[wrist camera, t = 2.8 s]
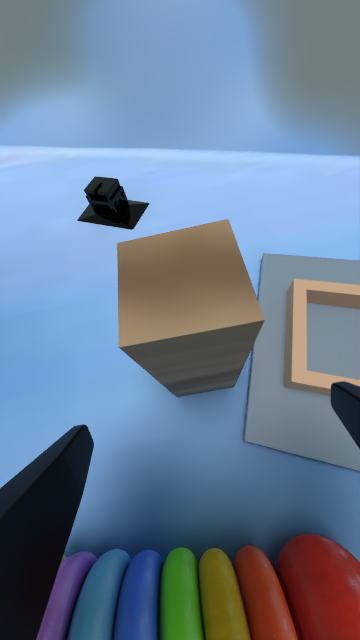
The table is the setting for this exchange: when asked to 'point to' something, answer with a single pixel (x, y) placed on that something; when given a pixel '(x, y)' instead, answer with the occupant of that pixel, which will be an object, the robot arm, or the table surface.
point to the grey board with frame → (304, 356)
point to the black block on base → (111, 205)
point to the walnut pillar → (187, 307)
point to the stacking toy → (208, 595)
